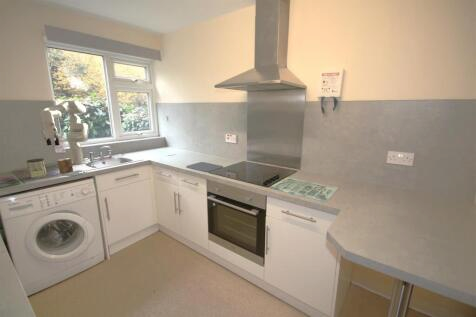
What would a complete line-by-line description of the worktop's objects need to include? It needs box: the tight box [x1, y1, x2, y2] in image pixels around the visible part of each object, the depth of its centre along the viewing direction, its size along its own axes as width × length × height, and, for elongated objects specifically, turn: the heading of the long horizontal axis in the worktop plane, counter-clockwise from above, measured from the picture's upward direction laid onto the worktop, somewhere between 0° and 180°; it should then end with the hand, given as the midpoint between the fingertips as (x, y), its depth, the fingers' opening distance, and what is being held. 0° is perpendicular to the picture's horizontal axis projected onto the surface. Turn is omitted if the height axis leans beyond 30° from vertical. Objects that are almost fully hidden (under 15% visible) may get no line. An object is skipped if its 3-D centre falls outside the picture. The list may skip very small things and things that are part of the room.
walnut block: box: [57, 157, 74, 175], centre depth 189 cm, size 8×5×12 cm, turn 165°
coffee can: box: [26, 158, 48, 179], centre depth 179 cm, size 10×10×14 cm
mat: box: [61, 169, 85, 177], centre depth 188 cm, size 14×14×1 cm
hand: (53, 145), depth 188 cm, fingers open, 8 cm apart
